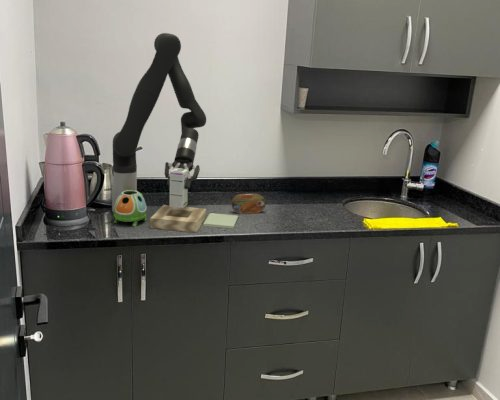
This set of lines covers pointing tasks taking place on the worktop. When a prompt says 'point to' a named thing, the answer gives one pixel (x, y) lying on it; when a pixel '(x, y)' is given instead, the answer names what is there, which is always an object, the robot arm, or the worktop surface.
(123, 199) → the turtle holder
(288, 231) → the worktop surface
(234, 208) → the tin
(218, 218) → the mat
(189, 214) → the socket block
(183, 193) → the syrup box
